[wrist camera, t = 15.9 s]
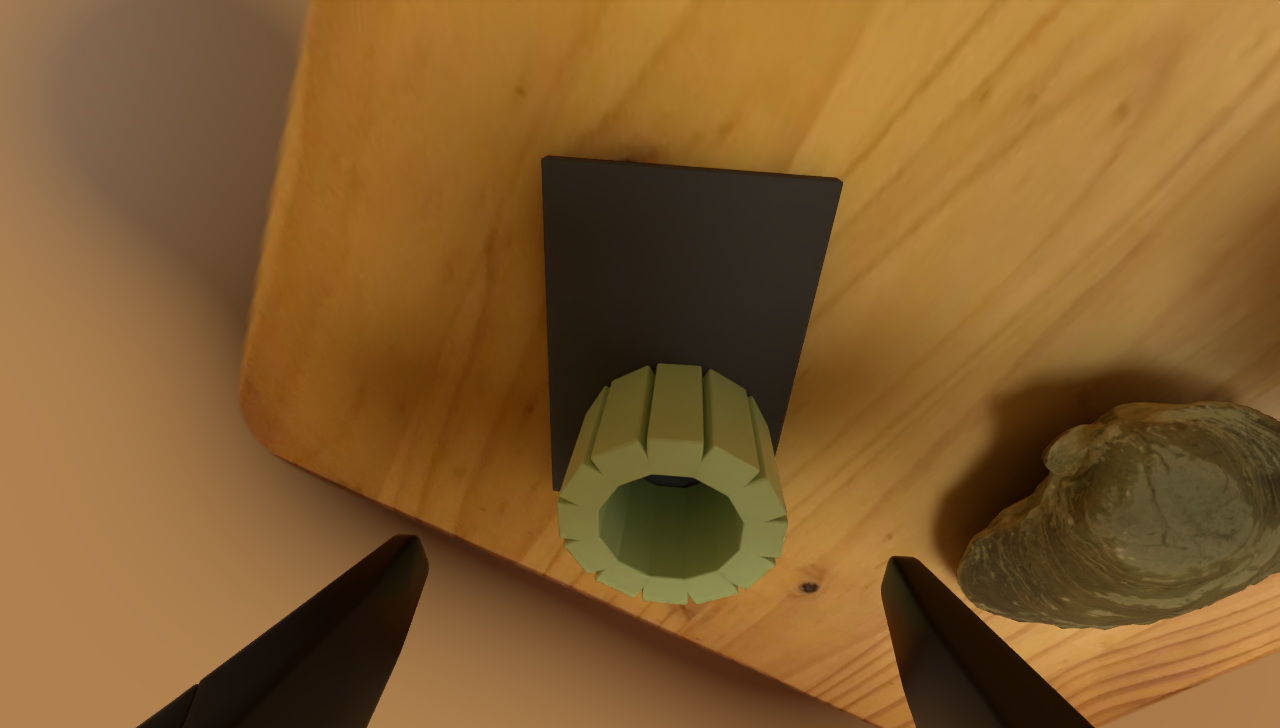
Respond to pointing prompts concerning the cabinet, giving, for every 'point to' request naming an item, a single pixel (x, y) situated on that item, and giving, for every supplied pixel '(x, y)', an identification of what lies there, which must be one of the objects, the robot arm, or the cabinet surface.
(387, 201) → the cabinet surface
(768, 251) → the pad
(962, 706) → the robot arm
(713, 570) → the ring
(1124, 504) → the seashell
